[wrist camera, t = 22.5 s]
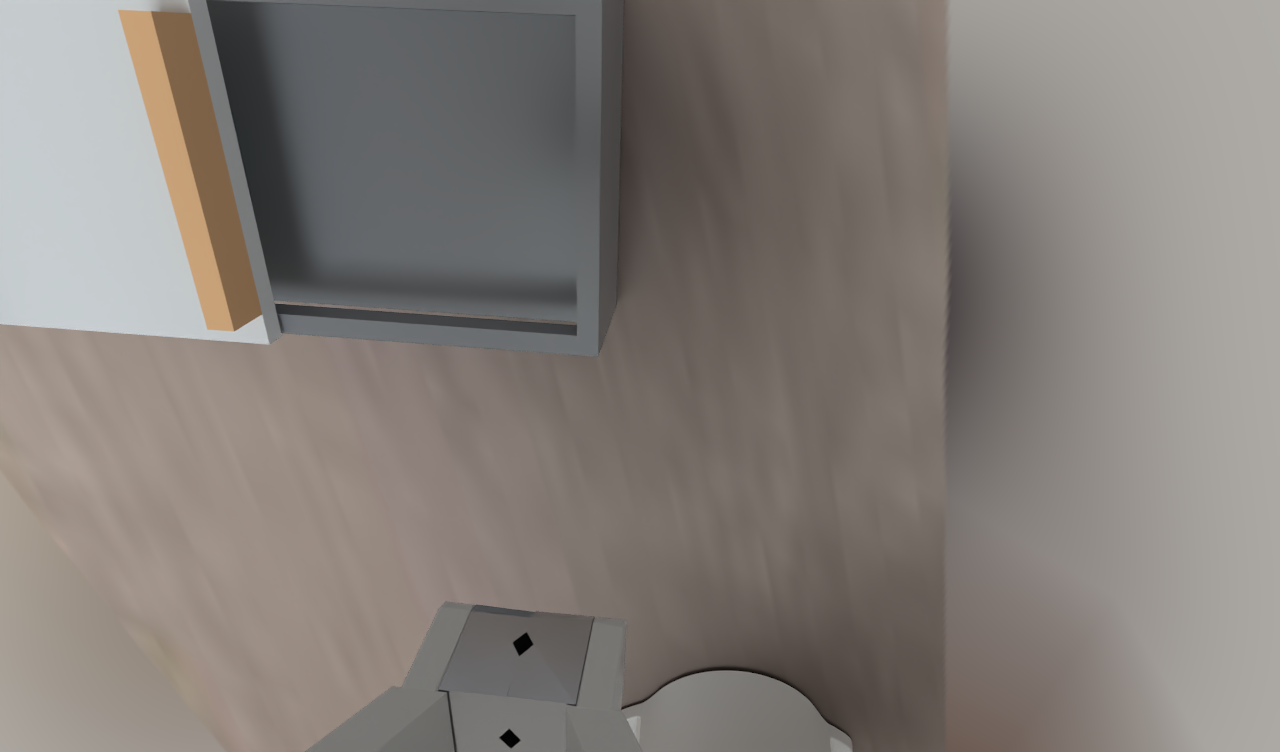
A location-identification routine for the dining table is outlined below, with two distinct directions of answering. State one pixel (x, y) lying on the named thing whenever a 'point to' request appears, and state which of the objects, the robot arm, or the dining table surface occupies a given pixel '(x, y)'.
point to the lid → (124, 175)
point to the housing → (433, 164)
